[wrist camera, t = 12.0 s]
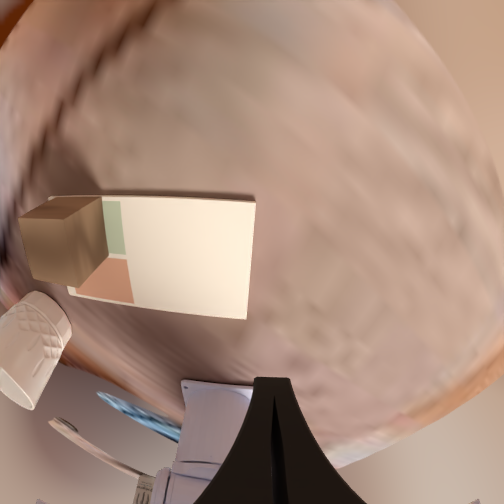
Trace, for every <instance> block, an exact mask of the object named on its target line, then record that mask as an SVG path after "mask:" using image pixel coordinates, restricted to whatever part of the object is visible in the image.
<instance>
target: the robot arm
mask: <svg viewBox="0 0 504 504" xmlns="http://www.w3.org/2000/svg"><path fill="white" fill-rule="evenodd" d="M181 388H182V393H183V397H184V402H185V407H186V410H185V415H184V419H183V424H182V429H181V434H180V439H179V443H178V448H177V454H176V458H175V461H173V466H172V471H170V468H168V467H164V468H163V469H161V470H159V471H158V472H157V475H156V478H155V482H154V486H153V490H152V495H151V501H150V504H367V503H365V502H364V501H363V500H362V499H361V498H360V497H359V496H358V495H357V494H356V493H355V492H354V491H353V490H352V489H351V488H350V487H349V485H348V484H347V483H346V482H345V481H344V480H343V479H342V477H341V476H340V475H339V474H338V473H337V471H336V470H335V469H334V467H333V466H332V465H331V463H330V462H329V460H328V459H327V457H326V456H325V455H324V453H323V451H322V450H321V448H320V447H319V445H318V443H317V442H316V440H315V438H314V436H313V434H312V433H311V431H310V429H309V427H308V425H307V423H306V421H305V418H304V416H303V414H302V412H301V410H300V407H299V405H298V402H297V400H296V397H295V394H294V391H293V388H292V385H291V381H290V379H289V378H278V377H256V378H254V385H253V386H239V385H227V384H217V383H208V382H200V381H192V380H182V381H181ZM36 504H47V503H46V502H44V501H42V500H40V499H37V502H36ZM469 504H480V501H479V499H477V500H475V501H473V502H471V503H469Z"/></svg>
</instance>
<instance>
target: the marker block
mask: <svg viewBox="0 0 504 504" xmlns="http://www.w3.org/2000/svg"><path fill="white" fill-rule="evenodd" d="M18 222H19V227H20V232H21V236H22V240H23V245H24V249H25V252H26V256H27V260H28V263H29V267H30V270H31V273H32V277H33V279H36V280H40V281H45V282H50V283H54V284H59V285H65V286H70V287H75V288H79V287H80V286H81V285H82V284H83V283H84V282H85V281H86V280H87V278H88V277H89V276H90V275H91V274H92V273H93V272H94V271H95V270H96V269H97V268H98V266H99V265H100V264H101V263H102V262H103V261H104V260H105V259H106V258H107V257H108V256H109V251H108V245H107V238H106V231H105V223H104V215H103V205H102V197H55V198H53V199H51V200H49V201H47V202H46V203H44V204H42V205H40V206H38V207H36V208H35V209H33V210H31V211H29V212H27V213H26V214H24V215H22V216H21V217H19V218H18Z"/></svg>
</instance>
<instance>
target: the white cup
mask: <svg viewBox="0 0 504 504" xmlns="http://www.w3.org/2000/svg"><path fill="white" fill-rule="evenodd" d="M71 335H72V331H71V324H70V322H69V320H68V318H67V316H66V314H65V312H64V311H63V310H62V309H61V308H60V306H59V305H58V304H57V303H56V302H55V301H54V300H53V299H51V298H50V297H49V296H48V295H46V294H45V293H42V292H39V291H36V290H35V291H32V292H29V293H28V294H27V295H26V296H24V297H23V298H22V299H21V300H20V301H19V302H18V303H17V304H15V305H14V306H13V307H11V308H10V309H9V310H8V312H7V313H5V314H4V315H3V316H2V317H1V318H0V390H1V391H2V392H3V393H4V394H5V395H7V396H8V397H9V398H10V399H12V400H13V401H14V402H16V403H17V404H19V405H20V406H22V407H24V408H26V409H29V410H33V409H34V408H35V406H36V404H37V401H38V399H39V397H40V395H41V393H42V391H43V389H44V387H45V385H46V383H47V381H48V380H49V378H50V376H51V374H52V371H53V369H54V368H55V366H56V364H57V362H58V360H59V358H60V357H61V353H62V351H63V349H64V347H65V345H66V344H67V342H68V340H69V339H70V337H71Z"/></svg>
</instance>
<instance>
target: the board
mask: <svg viewBox="0 0 504 504" xmlns="http://www.w3.org/2000/svg"><path fill="white" fill-rule="evenodd" d="M55 197H102V205H103V215H104V223H105V231H106V238H107V245H108V251H109V256H108V257H107V258H106V259H105V260H104V261H103V262H102V263H101V264H100V265H99V266H98V268H97V269H96V270H95V271H94V272H93V273H92V274H91V275H90V276H89V277H88V278H87V280H86V281H85V282H84V283H83V284H82V285H81V286H80V287H79V288H75V287H70V286H67V289H68V292H69V295H72V296H77V297H83V298H88V299H93V300H98V301H104V302H110V303H116V304H122V305H128V306H134V307H141V308H148V309H155V310H162V311H170V312H178V313H186V314H195V315H204V316H214V317H225V318H236V319H246V317H247V305H248V293H249V280H250V268H251V256H252V244H253V232H254V219H255V207H256V201H244V200H230V199H214V198H196V197H173V196H137V195H72V196H50V197H48V201H49V200H51V199H53V198H55Z"/></svg>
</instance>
